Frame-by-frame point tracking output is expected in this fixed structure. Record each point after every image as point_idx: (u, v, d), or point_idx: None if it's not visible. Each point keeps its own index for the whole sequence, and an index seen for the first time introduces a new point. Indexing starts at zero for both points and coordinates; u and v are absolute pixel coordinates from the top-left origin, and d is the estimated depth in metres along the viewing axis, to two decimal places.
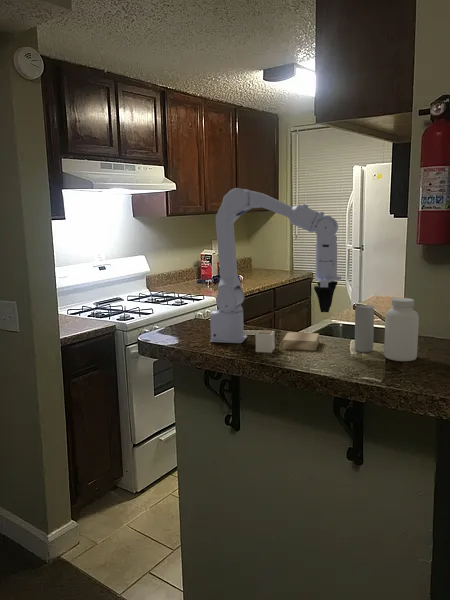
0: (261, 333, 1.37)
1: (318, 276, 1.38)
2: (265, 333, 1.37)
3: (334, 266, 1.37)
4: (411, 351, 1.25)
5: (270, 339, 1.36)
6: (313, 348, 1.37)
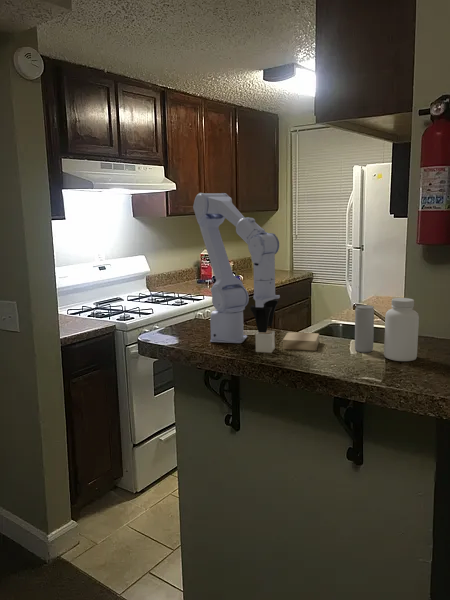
0: (261, 333, 1.37)
1: (256, 295, 1.35)
2: (265, 333, 1.37)
3: (271, 285, 1.34)
4: (411, 351, 1.25)
5: (270, 339, 1.36)
6: (313, 348, 1.37)
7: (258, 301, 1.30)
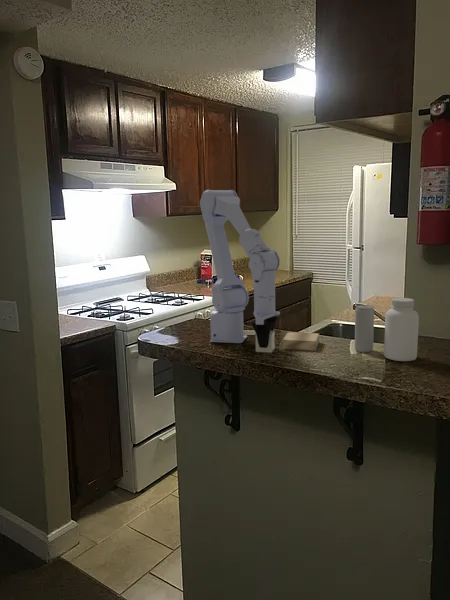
0: None
1: (256, 312, 1.36)
2: None
3: (271, 302, 1.34)
4: (411, 351, 1.25)
5: (270, 339, 1.36)
6: (313, 348, 1.37)
7: (258, 318, 1.30)
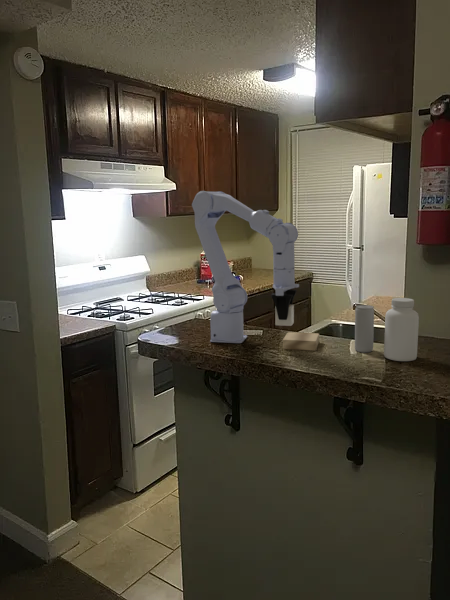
0: None
1: (275, 284, 1.36)
2: None
3: (290, 274, 1.35)
4: (411, 351, 1.25)
5: (290, 312, 1.36)
6: (313, 348, 1.37)
7: (278, 289, 1.31)
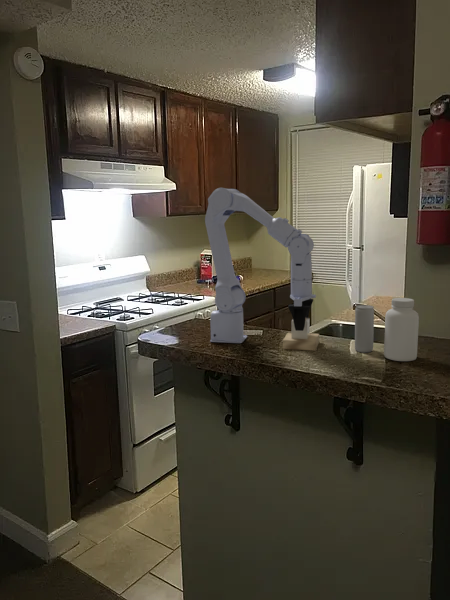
0: None
1: (293, 294, 1.39)
2: None
3: (308, 285, 1.37)
4: (411, 351, 1.25)
5: (306, 326, 1.39)
6: (313, 348, 1.37)
7: (297, 300, 1.33)
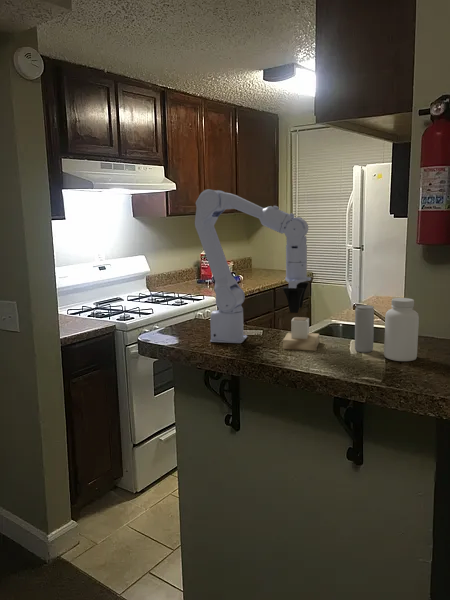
0: (297, 320, 1.40)
1: (288, 277, 1.40)
2: (301, 320, 1.40)
3: (303, 267, 1.39)
4: (411, 351, 1.25)
5: (306, 325, 1.39)
6: (313, 348, 1.37)
7: (291, 282, 1.35)
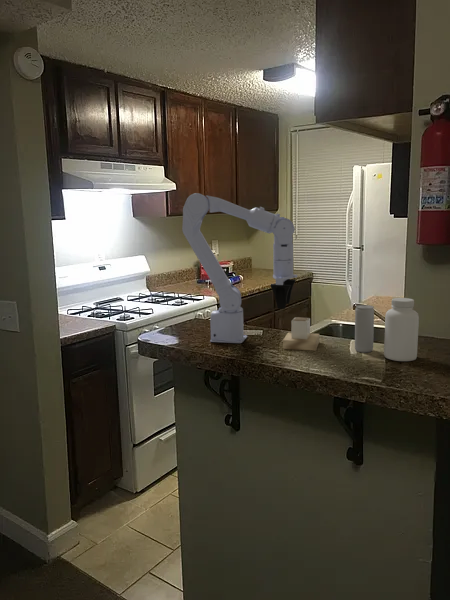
0: (297, 320, 1.40)
1: (275, 274, 1.46)
2: (301, 320, 1.40)
3: (289, 265, 1.44)
4: (411, 351, 1.25)
5: (306, 326, 1.39)
6: (313, 348, 1.37)
7: (278, 279, 1.40)
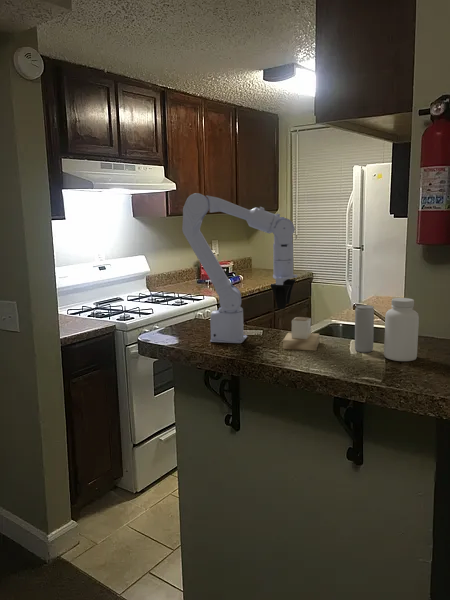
0: (297, 320, 1.40)
1: (275, 274, 1.46)
2: (301, 320, 1.40)
3: (289, 265, 1.44)
4: (411, 351, 1.25)
5: (306, 326, 1.39)
6: (313, 348, 1.37)
7: (278, 279, 1.40)
